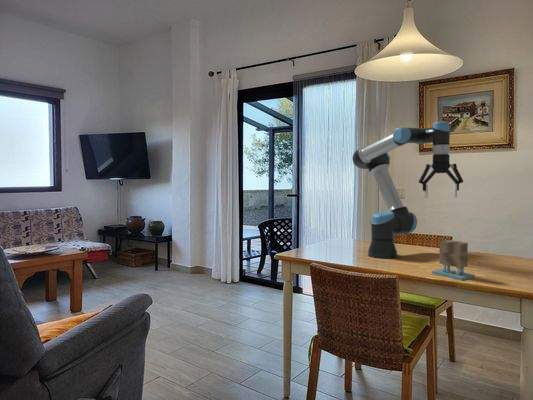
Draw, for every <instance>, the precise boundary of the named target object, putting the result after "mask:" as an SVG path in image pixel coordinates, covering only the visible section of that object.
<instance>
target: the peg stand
mask: <svg viewBox="0 0 533 400" xmlns="http://www.w3.org/2000/svg"><path fill="white" fill-rule="evenodd" d="M431 274H433V275H438V276H442V277H446V278H449V279H453V280H458V281H464V280H468V279H473V278H476V275H475V274H473V273H467V272H465V267H462V268H459V267H455V270H453V269H451V266H449V265H445V264H442V268H440V269H437V270H432V271H431Z"/></svg>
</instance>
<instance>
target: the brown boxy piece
mask: <svg viewBox="0 0 533 400" xmlns="http://www.w3.org/2000/svg"><path fill="white" fill-rule="evenodd" d="M468 247H469V246H468V242H463V241H458V240H452V239H451V240H450V239H442V240H439V264H441V265H443V264H445V265H446V266H447V265H449V266H450V267H455V268H456V267H459V268H462V267H464V268H466V267H467V268H468Z"/></svg>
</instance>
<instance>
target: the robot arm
mask: <svg viewBox="0 0 533 400" xmlns="http://www.w3.org/2000/svg"><path fill="white" fill-rule="evenodd" d="M450 138H451V126H450V122H448V121H435V122H433V123H432V127H426V128H425V127H424V128H423V127H406V126H402V127H401V126H399V127H397V128H395V130H393V133H391V134H390V135H388V136H386V137H384V138H381V139H379V140H378V141H375V142H373V143H371V144H369V145H368V146H361V147H360V148H358V149H357V150H355V151H354V153H353V154H352V156H351V157H352V162H353V165H354V166H355V167H357V168H358V169H361V170H368V171H369V174H370V175H371V176H373V177H374V179H375V182H376V186H378V189H379V192H380V195H381V197H382V200H383V202H384V204H385V206H386V209H387V210H386V211H385V210H384V211H379V212H374V213H372V215H371V218H370V219H371V221H370V225H371V226H370V229H371V234H370V235H371V236H370V237H371V239H370V243H369V247H368V250H367V256H368V257H371V258H376V259H377V258H378V259H391V258H393V259H394V258H397V257H398V250H397V248H396V245H395V244H396V243H395V236H397V235H399V236H400V235H407V234H411V233H414V231H415V230H416V228H417V225H418V219H417V216H416V214H415V213H413V212H412V211H409V209H408V206H405V205H404V204H403V202H402V200H401V198H400V195H399V193H398V190H397V188H396V185H395V184H394V182H393V179H392V175H391V174H390V171H389V168H390V164H391V161H390V160H391V156H390V153H389V152H390V151H393V150H395V149H398V148H399V147H402V146H405V145H406V144H417V145H424V144H431V143H432V154H433V155H432V164H429V163H427V164H425V168H424V170H423V172H422V174H421V176H420V178H419V180H418V183H419V184H421V185H422V192H424V198H426V199H428V198H429V192H428V191H429V184H428V182H429V181H430V180H431V179H433V177H434V176H435V174H446V175H448V177H449V178H450V179H451V180H452V182H453V183H454V184H453V186H452V187H453V188H452V189H453V191H452V195H453V196H452V197H453V198H458V191H460V184H461V183H462V184H463V183H464V179H463V178H462V176H461V174H460V172H459V169H458V166H457V163H452V164H451V163H450V152H451V151H450V145H451V144H450ZM431 168H432V170H431V172H430V173H429V170H430V169H431ZM450 168H451V169H452V171H453V173H454V174H453V173H452V172H451V171H450ZM428 173H429V174H428ZM426 176H427V177H426Z"/></svg>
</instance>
